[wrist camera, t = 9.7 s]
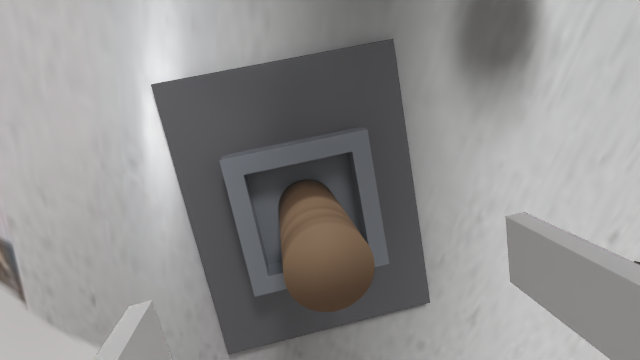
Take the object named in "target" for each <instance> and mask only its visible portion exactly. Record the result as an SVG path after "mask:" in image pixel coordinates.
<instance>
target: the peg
mask: <svg viewBox="0 0 640 360" xmlns="http://www.w3.org/2000/svg"><path fill="white" fill-rule="evenodd" d="M278 212H279V224H280V237H281V250H282V262H283V275H284V281H285V285H286V287H287V289H288V291H289V293H290V294H291V296H292V297H293V298H294V299H295V300H296V301H297V302H298V303H299V304H301V305H302V306H304V307H306V308H308V309H310V310H314V311H318V312H334V311H339V310H342V309H345V308H347V307H349V306H351V305H352V304H354V303H355V302H357V301H358V300H359V299H360V298H361V297H362V296H363V295H364V294H365V292H366V291H367V290H368V288H369V286H370V284H371V282H372V279H373V276H374V267H375V264H374V257H373V253H372V251H371V249H370V247H369V245H368V244H367V242H366V241H365V239H364V238H363V237H362V235H361V234H360V232H359V231H358V229H357V228H356V227H355V225H354V224H353V222H352V221H351V219H350V218H349V217H348V215H347V214H346V212H345V211H344V209H343V208H342V207H341V205H340V204H339V202H338V201H337V199H336V198H335V197H334V195H333V194H332V192H331V191H330V190H329V188H328V187H327V186H325V185H324V184H323V183H321V182H319V181H316V180H310V179H305V180H300V181H297V182H294V183H293V184H291V185H290V186H288V187H287V188H286V189H285V190H284V192H283V193H282V195H281V197H280V200H279V205H278Z"/></svg>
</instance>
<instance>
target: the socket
mask: <svg viewBox="0 0 640 360" xmlns="http://www.w3.org/2000/svg"><path fill="white" fill-rule="evenodd" d="M151 87H152V90H153V93H154V97H155V100H156V104H157V107H158V111H159V114H160V118H161V121H162V125H163V128H164V132H165V135H166V139H167V142H168V146H169V149H170V152H171V156H172V159H173V163H174V166H175V170H176V173H177V177H178V180H179V184H180V187H181V191H182V194H183V198H184V201H185V204H186V208H187V211H188V215H189V218H190V222H191V225H192V229H193V232H194V236H195V239H196V243H197V246H198V250H199V253H200V257H201V260H202V263H203V267H204V270H205V274H206V277H207V281H208V284H209V288H210V291H211V295H212V298H213V302H214V305H215V309H216V312H217V315H218V319H219V322H220V326H221V329H222V333H223V336H224V340H225V343H226V347H227V350H228V354H232V353H236V352H240V351H244V350H248V349H251V348H255V347H259V346H263V345H267V344H271V343H275V342H279V341H282V340H286V339H290V338H294V337H298V336H302V335H306V334H310V333H314V332H317V331H321V330H325V329H329V328H333V327H337V326H341V325H345V324H348V323H352V322H356V321H360V320H364V319H368V318H372V317H376V316H380V315H383V314H387V313H391V312H395V311H399V310H403V309H407V308H411V307H414V306H418V305H422V304H426V303H430V298H429V291H428V284H427V277H426V270H425V263H424V256H423V248H422V241H421V234H420V227H419V220H418V213H417V206H416V199H415V191H414V184H413V177H412V170H411V163H410V156H409V149H408V141H407V134H406V127H405V120H404V113H403V106H402V99H401V92H400V84H399V77H398V70H397V63H396V56H395V49H394V42H393V39H390V40H385V41H380V42H374V43H369V44H364V45H358V46H353V47H348V48H342V49H337V50H332V51H326V52H321V53H316V54H311V55H305V56H300V57H295V58H289V59H284V60H279V61H273V62H268V63H263V64H258V65H252V66H247V67H242V68H236V69H231V70H226V71H220V72H215V73H210V74H204V75H199V76H194V77H189V78H183V79H178V80H173V81H167V82H162V83H157V84H151ZM305 179H310V180H316V181H319V182H321V183H323V184H324V185H325V186H327V187H328V188H329V190H330V191H331V192H332V194H333V195H334V197H335V198H336V199H337V201H338V202H339V204H340V205H341V207H342V208H343V209H344V211H345V212H346V214H347V215H348V217H349V218H350V219H351V221H352V222H353V224H354V225H355V227H356V228H357V229H358V231H359V232H360V234H361V235H362V237H363V238H364V239H365V241H366V242H367V244H368V245H369V247H370V249H371V251H372V253H373V257H374V264H375V267H374V276H373V279H372V282H371V284H370V286H369V288H368V290H367V291H366V292H365V294H364V295H363V296H362V297H361V298H360V299H359V300H358V301H357V302H355V303H354V304H352V305H351V306H349V307H347V308H345V309H342V310H339V311H334V312H318V311H314V310H310V309H308V308H306V307H304V306H302V305H301V304H299V303H298V302H297V301H296V300H295V299H294V298H293V297H292V296H291V294H290V293H289V291H288V289H287V287H286V285H285V281H284V275H283V262H282V250H281V237H280V224H279V212H278V205H279V200H280V197H281V195H282V193H283V192H284V190H285V189H286V188H287V187H288V186H290V185H291V184H293V183H294V182H297V181H300V180H305Z"/></svg>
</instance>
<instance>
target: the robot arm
mask: <svg viewBox="0 0 640 360" xmlns="http://www.w3.org/2000/svg"><path fill="white" fill-rule="evenodd" d="M506 228H507V243H508V257H509V271H510V282H511V283H513V284H514V285H515V286H516V287H518V288H519V289H520V290H522V291H523V292H524V293H526V294H527V295H528V296H529V297H531V298H532V299H533V300H535V301H536V302H537V303H538V304H540V305H541V306H542V307H544V308H545V309H546V310H547V311H549V312H550V313H551V314H553V315H554V316H555V317H556V318H558V319H559V320H560V321H562V322H563V323H564V324H565V325H567V326H568V327H569V328H571V329H572V330H573V331H574V332H576V333H577V334H578V335H580V336H581V337H582V338H583V339H585V340H586V341H587V342H589V343H590V344H591V345H592V346H594V347H595V348H596V349H598V350H599V351H600V352H602V353H603V354H604V355H605V356H607V357H608V358H609V359H611V360H640V262H636V261H634V262H632V261H630V260H628V259H626V258H624V257H621V256H619V255H617V254H615V253H613V252H611V251H608V250H606V249H604V248H602V247H600V246H597V245H595V244H593V243H591V242H589V241H587V240H584V239H582V238H580V237H578V236H576V235H573V234H571V233H569V232H567V231H565V230H563V229H560V228H558V227H556V226H554V225H552V224H549V223H547V222H545V221H543V220H541V219H539V218H536V217H534V216H532V215H530V214H528V213H525V212H523V213H519V214H515V215H510V216H506ZM93 360H172V357H171V354H170V351H169V349H168V346H167V343H166V340H165V337H164V334H163V331H162V328H161V325H160V322H159V319H158V316H157V313H156V311H155V308H154V305H153V302H152V300H151V301H147V302H143V303H138V304H134V305H130V306H129V307H128V309H127V310H126V312H125V313H124V315H123V316H122V318H121V319H120V320H119V322H118V323H117V325H116V326H115V328H114V329H113V331H112V332H111V334H110V335H109V337H108V338H107V340H106V341H105V343H104V344H103V346H102V347H101V349H100V350H99V352H98V353H97V355H96V356H95V358H94V359H93Z"/></svg>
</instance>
